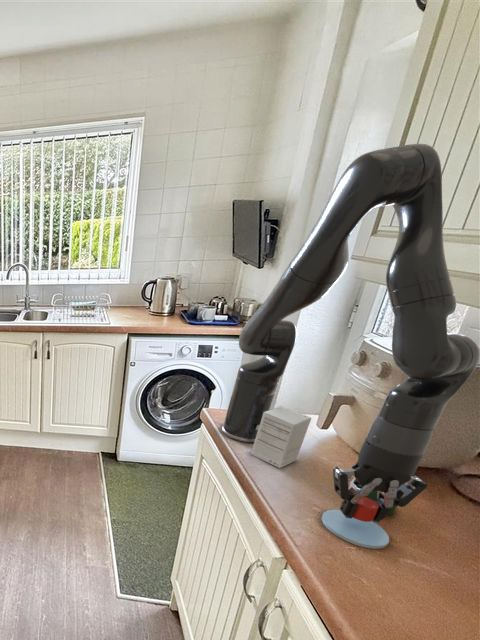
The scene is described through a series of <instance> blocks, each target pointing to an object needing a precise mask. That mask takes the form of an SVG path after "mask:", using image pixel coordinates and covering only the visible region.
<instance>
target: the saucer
mask: <svg viewBox="0 0 480 640" xmlns="http://www.w3.org/2000/svg"><path fill="white" fill-rule="evenodd" d="M321 522H322V524H323V526H324V527H325V528H326V529H327V530H328V531H329V532H330V533H332V534H333V535H334V536H336V537H337V538H340V539H341V540H343V541H345V542H347V543H350V544H352V545H355V546H359V547H361V548H366V549H374V550H380V549H384V548H386V547H387V546H388V545H389V543H390V537H389V534H388V533H387V531H386V530H384V529H383V528H382V527H381V526H380V525H379V524H377V522H374V521H373V520H372V521H371V522H364V521H360V520H357V519H355V518H353V517H352V518H346V517H345V516H344V514H343V513H342V511H341V510H340V509H328V510H326V511H324V512H323V513H322V515H321Z"/></svg>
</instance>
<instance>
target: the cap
mask: <svg viewBox="0 0 480 640" xmlns="http://www.w3.org/2000/svg"><path fill="white" fill-rule="evenodd" d="M358 504H359V505H358V507H357V509H356V511H355V513H354V515H353V518H355V519H357V520H360V521H364V522H371V521H372V522H373V519H374V517H375V515H376V513H377V511H378V508H379V505H378V504H377V503H376V502H375V501H373V500H371V499H369V498H366V497H363V498H362V499H361V500H360V501H359V502H358Z"/></svg>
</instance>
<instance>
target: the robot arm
mask: <svg viewBox="0 0 480 640" xmlns="http://www.w3.org/2000/svg"><path fill="white" fill-rule="evenodd" d="M388 206H392V207H393V209H394V211H395V214H396V217H397V221H398V234H397V239H396V243H395V246H394V249H393V251H392V254H391V255H390V259H389V262H388V264H387V267H386V272H385V285H386V291H387V295H388V300H389V303H390V307H391V311H392V314H393V319H394V320H393V325H392V337H391V353H392V359H393V361H394V364H395V366H396V367H397V369H398V370H399V371H400V372H401V373H402V374H403V375H405V376H406V378H405V380H403V381H402V382H401V383H400V384H397V385H395V386H394V387H392V388H391V389H390V390H389V391H388V393H387V394H386V396H385V398H384V400H383V402H382V405H381V407H380V409H379V410H378V411H379V412H378V414H377V415H376V417H375V418H374V420H373V421H372V423H371V425H370V427H369V429H368V431H367V434H366V436H365V438H364V441H363V442H362V445H361V447H360V450H359V452H358V454H357V455H358V456H357V461H356V462H355V463H354V464H353V465H352V466H351V467H350V468H341V467H339V466H335V467H333V468H332V477H333V490H334V492H335V493H337V495H338V496H339V497H340V498H341V499H342V502H341V504H340V507H339V510H341V511H342V513H343V514H344V516H345V517H346V518H352V517H353V515H354V513H355V511H356V509H357V507H358V505H359V504H358V502H359V501H360V500H361V499H362V498H363V497H364V496H368V494H369V493H370V492H371V491H376V490H377V499H378V501H377V500H375V502H376V503H377V504H378V505H379V508H378V511H377V513H376V515H375V517H374V519H373V520H372V522H374V523H380V522H381V521H383V520H384V519H385V518H386V514H387V512H388V510H389V508H392V507H393V506H397V507H399V508H404V507H406V506H407V505H409V504H410V502H412V501H413V500H414V499H415V498H416V497H417V496H419V495H420V494H421V493H422V492H423V491H424V490H425V489H427V487H428V484H427V483H426V482H424V481H423V480H422V479H421V478H419V476H417V475H413V476H411V474H412V473H414V472H415V470H416V468H417V466H418V467H419V464H420V463H421V461H422V458H423V456H424V454H425V453H426V450H427V449H428V447H429V445H430V443H431V440H432V438H433V433H434V432H435V431H434V430H435V428H436V426H437V424H438V423H439V420H440V419H441V417H442V415H443V413H444V410H445V408H446V406H447V404H448V403H449V402H450V401H451V399H453V397H454V396H456V395H457V393H458V392H459V391H460V390H461V388H462V387H463V386H464V385H465V384H466V382H467V381H468V380H469V378H470V377H471V376H472V375H473V373H474V372H475V370H476V368H477V365H478V364H479V360H480V348H479V346H478V344H477V343H476V341H474V340H473V339H472V338H470V337H468V336H467V335H464V334H458V333H448V324H447V323H448V322H447V321H448V317H451V315H453V314H454V313H455V312H456V310H457V300H456V296H455V292H454V287H453V284H452V281H451V277H450V273H449V269H448V264H447V260H446V254H445V247H444V246H445V245H444V220H443V219H444V217H443V216H444V215H443V213H444V212H443V210H444V209H443V172H442V164H441V160H440V156H439V154H438V151H437V150H436V149H435V148H434V147H433V146H431V145H429V144H426V143H411V144H405V145H404V144H403V145H399V146H393V147H388V148H379V149H375V150H372V151H369V152H366V153H363V154H361V155H360V156H358V157H357V158H355V159H354V160H353V161H352V162H351V163H350V164H349V165H348V166H347V167H346V169H345V170H344V171H343V173H342V174H341V176H340V178H339V180H338V181H337V182H336V185H335V186H334V188H333V191H332V192H331V195H330V196H329V198H328V200H327V202H326V204H325V206H324V207H323V210H322V211H321V214H320V216H319V217H318V218H317V221H316V223H315V224H314V226H313V228H312V229H311V231H310V232H309V234H308V235H307V237H306V239H305V240H304V242H303V243H302V245H301V246H300V248H299V250H298V251H297V253H296V254H295V255H294V256H293V258H292V259H291V261H290V262H289V264H288V265H287V267H286V268H285V270H284V271H283V272H282V275H281V276H280V278H279V280H278V281H277V282H276V284H275V286H274V287H273V289H272V290H271V292H270V293H269V294H268V295H267V298H266V299H265V300H264V301H263V303H262V304H261V305H260V306H259V308H257V310H256V311H255V312H254V313H253V314H252V316H251V317H250V318H249V319H248V321H246V323H245V324H244V326H243V328H242V330H241V332H240V335H239V338H238V347H239V349H240V351H241V352H242V353H244V354H246V355H250V356H261V357H259V358H258V359H255V360H253V361H250V362H246V363H243V364H242V365H240V366H239V368H238V371H237V374H236V378H235V380H234V381H235V382H234V384H233V389H232V391H231V396H230V398H229V403H228V407H227V411H226V414H225V417H224V421H223V424H222V427H221V432H222V433H223V435H225V436H226V437H228V438H230V439H231V440H232V439H233V440H235V441H239V442H243V443H254V442H255V439H256V435H257V432H258V429H259V426H260V423H261V420H262V416H263V413H264V412H266V411H269V410H271V407H272V404H273V401H274V397H275V395H276V391H277V388H278V385H279V381H280V380H281V378H282V376H283V375H284V373H285V371H286V368H287V365H288V362H289V360H290V357H291V355H292V353H293V350H294V348H295V346H296V341H297V336H298V330H297V327H296V324H295V323H294V322H292V321H290V320H284V319H285V318H287V317H289V316H291V315H293V314H295V313H297V312H299V311H301V310H303V309H305V308H307V307H309V306H311V305H312V304H314V303H316V302H318V301H319V300H321V299H322V298H323V297H325V296H326V295H327V294H328V293H329V292H330V291H331V289H332V288H333V287H334V286H335V285H336V283H337V282H338V281H339V280H340V278H341V277H342V276H343V275H344V273H345V272H346V270H347V267H348V265H349V258H350V257H349V253H350V252H349V239H350V236H352V235H351V234H352V233H353V231H354V230H355V228H357V226H358V225H359V224H360V222H361V221H362V220H363V218H364V217H365V216H366V215H367V214H368V213H369V212H371V211H372V210H373V209H375V208H381V207H382V208H383V207H388ZM417 469H418V468H417ZM416 471H417V470H416ZM415 473H416V472H415ZM415 473H414V474H415ZM353 476H354V477H353ZM352 477H353V479H352ZM360 485H361V486H362V487H363V488H362V487H361V486H360ZM399 486H400V487H399ZM397 487H399V488H397ZM402 495H403V496H402ZM401 496H402V498H400V497H401Z"/></svg>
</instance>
